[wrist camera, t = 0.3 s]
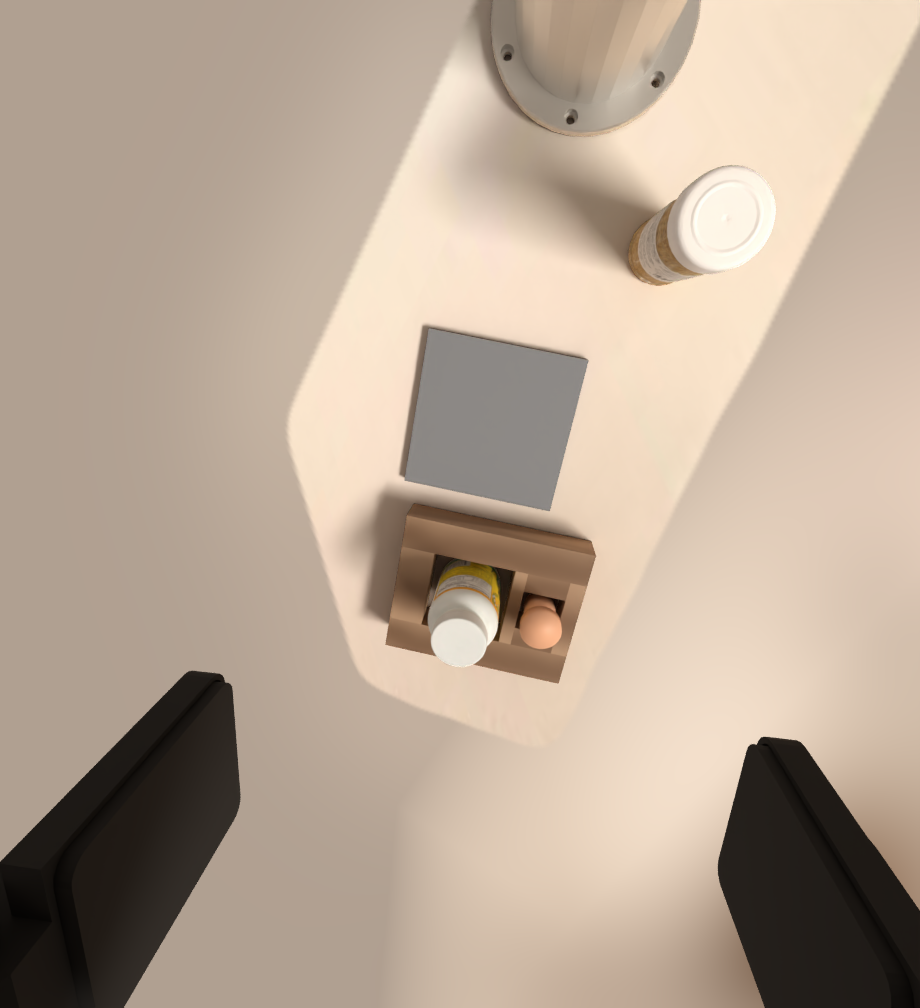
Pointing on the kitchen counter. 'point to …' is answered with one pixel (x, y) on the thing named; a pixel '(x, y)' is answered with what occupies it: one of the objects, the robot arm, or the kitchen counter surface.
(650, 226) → the sprinkles bottle
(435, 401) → the pad
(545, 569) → the housing
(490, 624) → the supplement bottle
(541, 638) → the peach rounded piece
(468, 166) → the kitchen counter surface
